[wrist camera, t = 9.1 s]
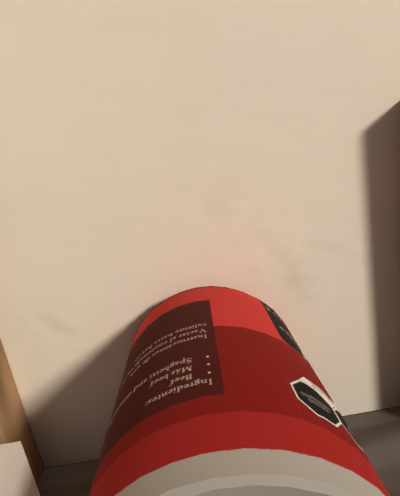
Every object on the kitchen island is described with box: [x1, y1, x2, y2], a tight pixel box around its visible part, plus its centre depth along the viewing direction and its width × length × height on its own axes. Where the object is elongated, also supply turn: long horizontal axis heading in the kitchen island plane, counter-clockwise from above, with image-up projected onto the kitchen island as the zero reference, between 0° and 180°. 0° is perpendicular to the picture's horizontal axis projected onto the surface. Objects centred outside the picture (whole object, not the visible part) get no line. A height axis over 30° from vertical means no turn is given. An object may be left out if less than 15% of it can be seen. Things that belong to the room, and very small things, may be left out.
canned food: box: [89, 286, 390, 496], centre depth 13 cm, size 8×8×11 cm
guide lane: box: [0, 340, 400, 496], centre depth 15 cm, size 17×23×6 cm
